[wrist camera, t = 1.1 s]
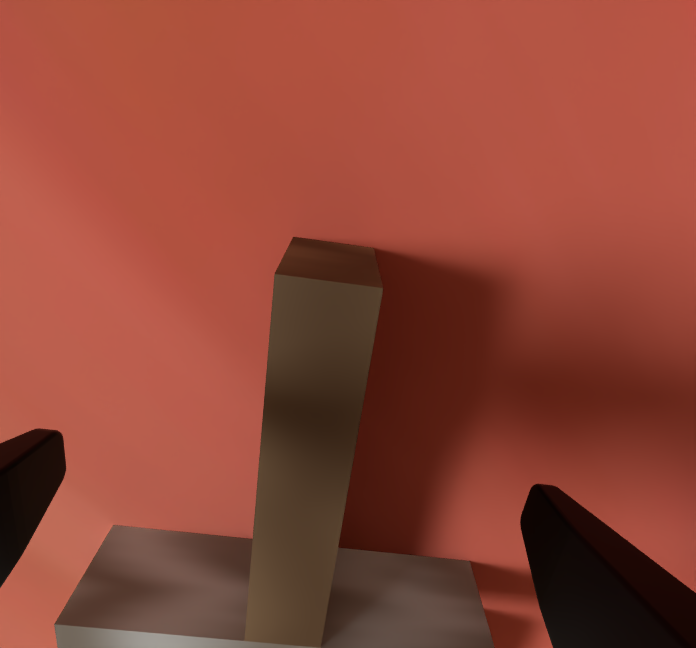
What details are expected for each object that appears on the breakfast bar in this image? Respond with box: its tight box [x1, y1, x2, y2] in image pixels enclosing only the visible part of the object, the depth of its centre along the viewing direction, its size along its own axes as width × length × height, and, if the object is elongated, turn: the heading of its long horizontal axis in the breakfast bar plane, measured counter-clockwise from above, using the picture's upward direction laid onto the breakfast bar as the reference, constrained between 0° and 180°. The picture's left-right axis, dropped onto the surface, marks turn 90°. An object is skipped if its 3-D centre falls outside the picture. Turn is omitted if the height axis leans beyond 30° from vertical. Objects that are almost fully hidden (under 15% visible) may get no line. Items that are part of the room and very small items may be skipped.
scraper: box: [54, 237, 495, 648], centre depth 15 cm, size 14×14×4 cm
